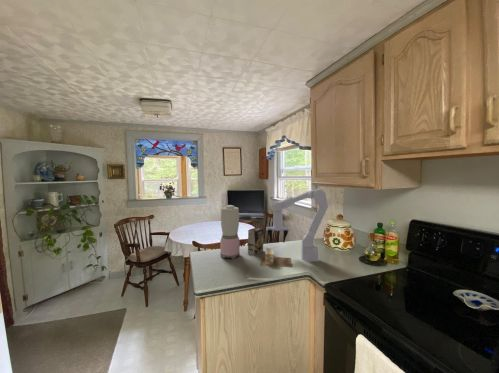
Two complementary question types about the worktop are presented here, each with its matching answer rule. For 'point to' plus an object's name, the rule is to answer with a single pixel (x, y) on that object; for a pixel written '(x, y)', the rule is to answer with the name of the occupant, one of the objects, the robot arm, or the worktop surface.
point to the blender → (229, 232)
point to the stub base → (277, 262)
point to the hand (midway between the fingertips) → (277, 241)
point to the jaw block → (269, 256)
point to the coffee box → (255, 241)
